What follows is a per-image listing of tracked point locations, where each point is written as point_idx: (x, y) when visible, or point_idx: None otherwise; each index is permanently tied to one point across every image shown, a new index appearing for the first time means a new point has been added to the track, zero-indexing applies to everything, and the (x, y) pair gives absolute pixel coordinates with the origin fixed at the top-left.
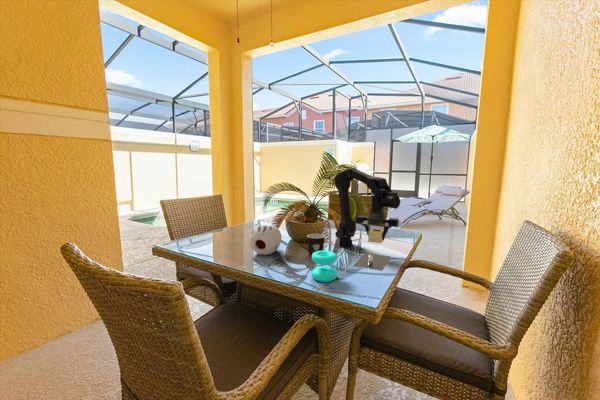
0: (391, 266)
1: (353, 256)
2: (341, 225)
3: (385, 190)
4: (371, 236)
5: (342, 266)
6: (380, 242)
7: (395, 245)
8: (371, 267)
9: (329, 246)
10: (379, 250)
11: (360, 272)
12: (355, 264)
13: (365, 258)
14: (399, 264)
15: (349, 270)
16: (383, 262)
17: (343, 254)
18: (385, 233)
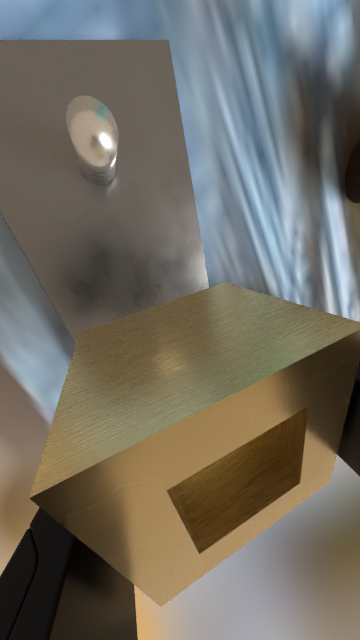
0: (20, 291)
1: (243, 283)
2: None
3: None
4: (233, 311)
5: (232, 79)
6: (93, 330)
7: None
8: (45, 86)
9: (340, 315)
10: None
11: (89, 8)
12: (172, 87)
13: (178, 258)
14: (12, 352)
15: (169, 10)
16: (58, 268)
17: (282, 274)
18: (30, 534)
